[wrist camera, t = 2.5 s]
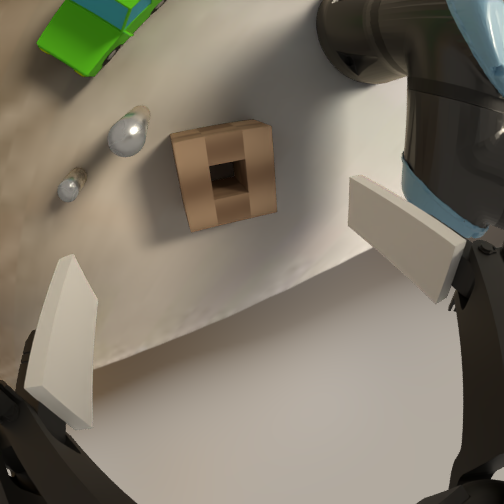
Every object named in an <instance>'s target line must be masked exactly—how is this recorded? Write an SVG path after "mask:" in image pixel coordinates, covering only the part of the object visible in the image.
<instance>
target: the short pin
mask: <svg viewBox="0 0 504 504" xmlns="http://www.w3.org/2000/svg"><path fill="white" fill-rule="evenodd" d="M86 181H87V173H86V171H85V170H84V169H82V168H74V169H73V170H72V171H71V172H70V173H69V174H68V175H67V176H66V178H65V179H64V180H63V181H62V182H61V184H60V185H59V187H58V196H59V197H60V199H61V200H63V201H65V202H71V201H73V200H75V198H76V197H77V195H78V194H79V192H80V190H81V189H82V187H83V186H84V184H85V183H86Z"/></svg>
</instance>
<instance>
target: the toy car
mask: <svg viewBox="0 0 504 504" xmlns="http://www.w3.org/2000/svg"><path fill="white" fill-rule="evenodd" d="M165 1H166V0H65V1H64V3H63V4H62V5H61V7H60V8H59V9H58V11H57V12H56V14H55V15H54V16H53V18H52V19H51V21H50V22H49V24H48V25H47V27H46V28H45V30H44V32H43V33H42V35H41V36H40V38H39V40H38V41H37V43H36V44H38V47H39V49H40V50H42V51H43V52H45V53H46V54H51V55H52V56H54V57H56V58H57V59H59V60H60V61H62V62H63V63H65V64H67V65H68V66H70V67H71V68H73V69H74V71H75V72H76V73H78V74H79V75H81V76H82V77H92V76H94V77H95V76H96V74H97V73H98V72H99V71H100V69H101V68H102V66H104V65H105V64H106V63H108V62H109V61H110V59H111V58H112V57H113V56H114V55H115V54H116V52H117V51H118V49H119V48H120V45H121V44H122V45H123V44H124V43H125V42H126V40H127V39H128V38H129V37H131V36H133V35H134V34H133V33H134V32H135V31H136V30H137V29H138V28H139V27H140V26H141V25H142V23H143V22H144V21H145V20H146V19H147V18H148V17H150V14H152V13H154V12H155V11H156V10H157V9H158V8H159V7H161V6H162V5H163V4H164V2H165Z"/></svg>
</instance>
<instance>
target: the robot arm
mask: <svg viewBox="0 0 504 504" xmlns="http://www.w3.org/2000/svg"><path fill="white" fill-rule="evenodd" d="M317 33H318V37H319V41H320V44H321V46H322V48H323V51H324V52H325V54H326V56H327V57H328V59H329V60H330V62H331V63H332V64H333V65H334V66H335V67H336V68H337V69H338V70H339V71H340V72H341V73H343V74H344V75H346V76H347V77H349V78H351V79H353V80H355V81H359V82H363V83H372V84H382V83H387V82H390V81H393V80H396V79H400V78H403V77H406V76H407V117H406V135H405V148H404V151H403V153H402V162H403V168H402V190H403V193H404V196H405V198H406V199H407V200H405V199H403V198H402V197H400V196H398V195H397V194H395V193H393V192H392V191H390V190H388V189H386V188H385V187H383V186H381V185H379V184H378V183H376V182H374V181H372V180H371V179H369V178H367V177H365V176H363V175H358V176H353V177H350V182H349V213H348V226H349V227H350V228H351V229H352V230H354V231H355V232H356V233H357V234H358V235H360V236H361V237H362V238H363V239H364V240H366V241H367V242H368V243H369V244H370V245H371V246H373V247H374V248H375V249H376V250H377V251H379V252H380V253H381V254H382V255H383V256H384V257H385V258H386V259H388V260H389V261H390V262H391V263H392V264H393V265H394V266H395V267H396V268H398V269H399V270H400V271H401V272H402V273H403V274H404V275H405V276H406V277H407V278H408V279H410V280H411V281H412V282H413V283H414V284H415V285H416V286H417V287H418V288H419V289H420V290H421V291H422V292H423V293H424V294H425V295H426V296H428V297H429V298H430V299H431V300H432V301H433V302H434V303H435V304H437V303H438V302H440V301H442V300H443V299H445V298H446V297H447V296H448V293H449V290H450V288H451V285H452V286H453V287H454V288H455V289H456V291H455V293H454V296H453V298H452V300H451V303H450V305H449V309H448V311H451V309H452V307H453V305H454V304H455V309H454V311H455V312H456V313H457V320H458V327H459V336H460V345H461V356H462V371H463V433H462V445H461V450H460V452H459V454H458V456H457V458H456V459H455V461H454V464H453V467H452V471H451V477H450V484H449V490H447V491H444V492H441V493H438V494H436V495H433V496H430V497H427V498H424V499H422V500H421V501H419V502H418V503H417V504H504V481H500V480H492V479H491V477H492V476H493V474H494V473H495V472H496V471H497V470H499V469H501V468H502V467H504V242H503V245H502V247H500V248H496V247H495V246H493V245H492V244H490V243H488V242H486V241H483V240H476V241H474V242H473V243H472V242H470V241H469V240H467V239H466V238H470V237H473V238H479V237H481V236H483V235H484V234H485V232H487V230H488V229H489V225H492V226H495V227H498V228H501V229H503V230H504V2H503V1H502V0H323V1H322V3H321V5H320V7H319V10H318V13H317ZM97 308H98V299H97V297H96V295H95V294H94V292H93V290H92V288H91V286H90V285H89V283H88V281H87V279H86V277H85V275H84V274H83V272H82V270H81V268H80V266H79V264H78V262H77V260H76V258H75V256H74V254H71V255H68V256H65V257H63V258H60V259H59V261H58V264H57V266H56V269H55V272H54V274H53V277H52V280H51V283H50V286H49V289H48V292H47V295H46V298H45V301H44V304H43V307H42V311H41V314H40V318H39V321H38V325H37V329H36V330H33V331H32V332H31V334H30V335H29V337H28V339H27V341H26V343H25V347H24V351H23V354H24V355H22V359H21V363H22V364H20V368H19V373H18V378H17V384H16V389H15V391H14V390H13V389H12V388H11V387H10V386H8V385H7V384H6V383H5V382H4V381H3V380H0V504H137V503H136V502H135V501H133V500H132V499H131V498H130V497H129V496H128V495H127V494H125V493H124V492H123V491H122V490H121V489H120V488H119V487H118V486H117V485H116V484H115V483H114V482H113V481H112V480H111V479H110V478H108V476H107V475H106V474H105V473H104V472H103V471H102V470H101V469H100V468H99V467H98V466H97V465H96V464H95V463H94V462H93V461H92V460H91V459H90V458H89V456H88V455H87V454H86V453H85V452H84V451H83V450H82V449H81V447H80V446H79V445H78V444H77V443H76V441H74V439H73V438H72V437H71V436H70V435H69V434H68V433H67V432H66V424H68V425H69V426H70V427H72V428H73V429H75V430H82V429H90V428H93V412H92V410H93V408H92V383H93V356H94V340H95V328H96V318H97ZM6 468H7V469H9V470H10V471H11V476H12V477H11V476H9V475H8V472H7V469H6Z"/></svg>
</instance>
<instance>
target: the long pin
mask: <svg viewBox="0 0 504 504" xmlns="http://www.w3.org/2000/svg"><path fill="white" fill-rule="evenodd" d="M149 120H150V111H149V109H148V108H147V107H145V106H136V107H135V108H133V109H132V110H131V111H130V112H128V113H127V114H126V115H125V116H124V117H122V118H121V119H120V120H119V121H118V122H117V123H116V124H114V125H113V126H112V128H111V129H110V131H109V134H108V145H109V148H110V149H111V151H112V152H113V153H114V154H116V155H118V156H120V157H130V156H133V155H135V154H137V153H138V152H139V151H140V150H141V149H142V147H143V145H144V143H145V139H146V134H147V129H148V124H149Z"/></svg>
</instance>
